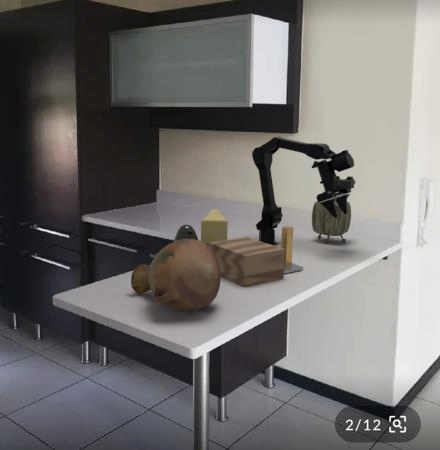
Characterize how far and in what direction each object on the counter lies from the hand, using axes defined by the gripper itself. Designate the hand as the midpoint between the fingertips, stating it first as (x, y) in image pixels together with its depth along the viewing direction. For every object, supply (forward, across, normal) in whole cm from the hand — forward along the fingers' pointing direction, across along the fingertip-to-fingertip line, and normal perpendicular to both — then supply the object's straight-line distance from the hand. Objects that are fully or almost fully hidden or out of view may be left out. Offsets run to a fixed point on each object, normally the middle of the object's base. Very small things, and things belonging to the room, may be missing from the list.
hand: (341, 215), depth 209 cm
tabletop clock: (+10, +18, +17) cm, 27 cm away
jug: (+8, -78, +22) cm, 81 cm away
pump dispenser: (+1, -47, +39) cm, 62 cm away
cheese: (-1, -23, +44) cm, 50 cm away
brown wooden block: (+8, -42, +20) cm, 47 cm away
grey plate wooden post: (+9, -36, +18) cm, 41 cm away
